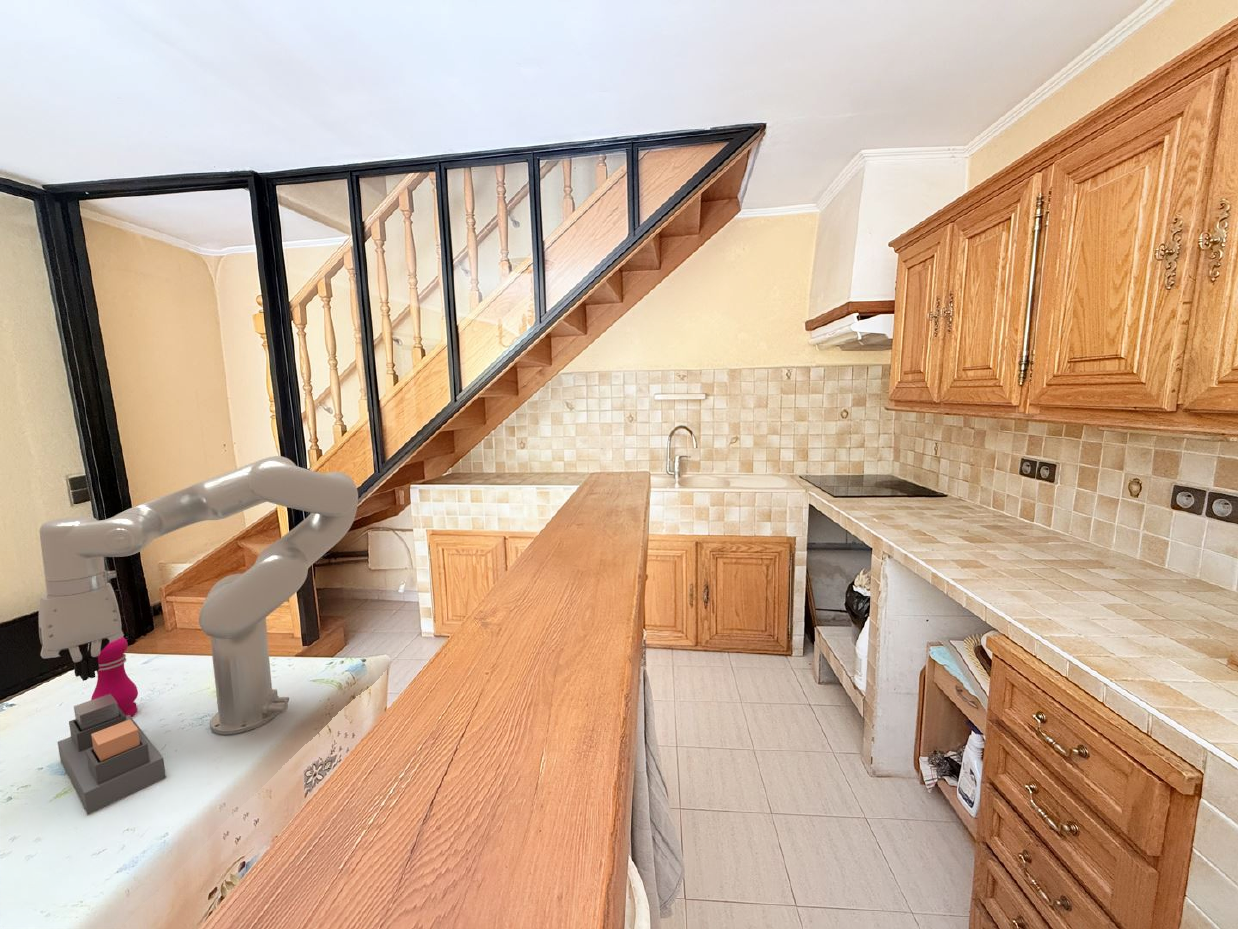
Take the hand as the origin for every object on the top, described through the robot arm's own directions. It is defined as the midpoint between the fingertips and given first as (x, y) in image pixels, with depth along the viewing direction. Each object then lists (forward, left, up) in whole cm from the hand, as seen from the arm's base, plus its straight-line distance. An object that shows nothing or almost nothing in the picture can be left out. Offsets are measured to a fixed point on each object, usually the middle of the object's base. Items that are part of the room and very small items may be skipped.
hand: (87, 676), depth 95 cm
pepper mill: (+8, -12, -17) cm, 22 cm away
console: (-6, +4, -16) cm, 18 cm away
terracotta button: (-12, +8, -9) cm, 17 cm away
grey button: (0, 0, -9) cm, 9 cm away
